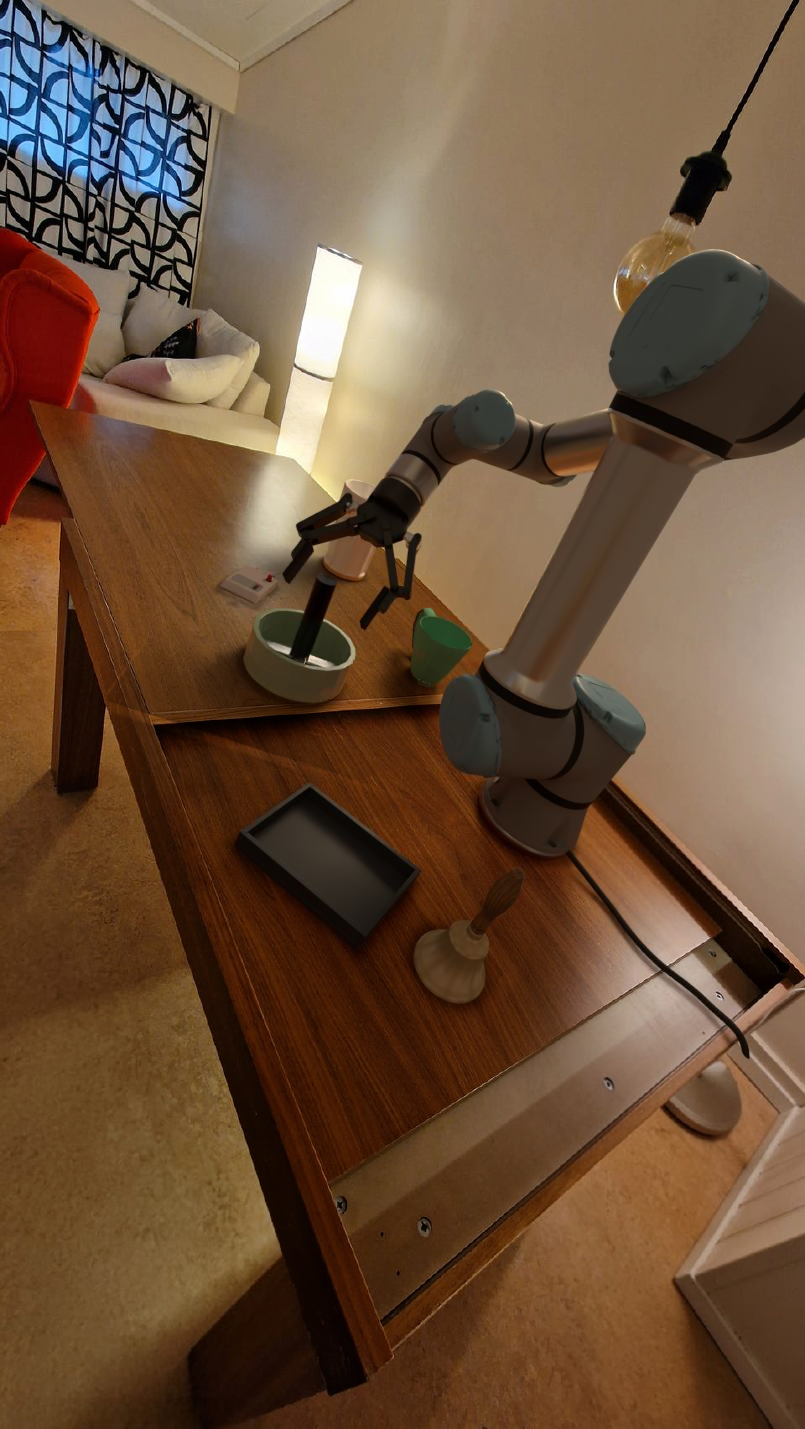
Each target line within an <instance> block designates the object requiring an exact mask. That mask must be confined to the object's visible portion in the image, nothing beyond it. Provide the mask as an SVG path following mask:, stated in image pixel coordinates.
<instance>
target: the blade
mask: <svg viewBox="0 0 805 1429" xmlns="http://www.w3.org/2000/svg"><path fill="white" fill-rule="evenodd" d="M337 585H338V581H337V579H335V578H334V577H333V576H331V575H329V574H325V573H318V574H316V577H315V580H314V581H313V585H312V588H311V591H310V594H309V597H308V600H307V602H306V605H305V608H304V610H303V611H304V614H303V616H302V619H301V622H300V625H299V628H298V631H297V634H296V637H295V639H294V642H293V645H292V648H289V647H286V646H283V645H280V644H278V643H275V642H272V641H269V640H265V641H266V642H267V644H268V645H269V646H270V647H272V648H273V649H275V650H276V651H277V652H279V653H280V654H282V655H284V656H285V657H288V658H290V659H292V660H294V661H296V662H299V663H302V664H306V665H309V666H311V665H313V666H316V667H325V668H326V667H334V666H335V664H334V663H331V662H328V661H325V660H323V659H320V658H317V657H314V656H311V652H312V650H313V647H314V644H315V642H316V639H317V636H318V633H319V631H320V628H321V625H322V623H323V620H324V619H325V618H326V615H327V612H328V609H329V606H330V604H331V601H332V599H333V596H334V593H335V591H336V587H337Z"/></svg>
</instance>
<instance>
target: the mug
mask: <svg viewBox="0 0 805 1429" xmlns="http://www.w3.org/2000/svg"><path fill="white" fill-rule="evenodd" d="M411 636H412V638H411V649H412V651H411V658H410V673H411V675H412V676H413V677H414V678H415V679H416V683H417V684H418V685H420V686H423V687H426V688H432V687H435V686H436V685H437V684H438V683H440V682H441V681H442V680H443V679H445V677H446V676H447V675H449V674H450V673H451V672H452V671H453V670H454V669H455V668H456V666H458V664H459V663H460V662H461V661H462V659H464V657H465V656H466V655H467V654H468V653H469V651H470V650H471V648H472V646H473V640H472V638H471V636H470V635H469V634H468V632H467V631H466V630H465V629H463V628H462V627H461V626H460V625H458V624H456V623H454V622H453V621H451V620H449V619H446V618H444V617H440V616H437V614H436V613H435V611H434V610H433V609H432V608H431V607H423V608H422V609H420V610H418V611H417V613H416V616H415V619H414V621H413V624H412V635H411ZM419 679H420V680H419ZM423 681H424V682H423ZM425 682H426V683H425ZM429 683H430V684H429ZM435 683H436V684H435Z"/></svg>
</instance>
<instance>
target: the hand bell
mask: <svg viewBox="0 0 805 1429" xmlns="http://www.w3.org/2000/svg"><path fill="white" fill-rule="evenodd" d="M525 878H526V874H525V871H524V870H523V869H521V868H520V867H513V868H512V869H511V870H510V871H508V872H506V873H504V874H502V875H501V876H500V877H499V878H497V879H496V880H495V881H494V882H493V883H492V885H491V887H490V889H488V891H487V894H486V896H485V899H484V902H483V906H482V908H481V909H480V911H479V912H478V914H476V915H475V916H474V918H473V919H471V920H468V919H460V920H456V921H455V922H453V923H452V924H451V925H450V926H449V927H448V928H447V929H441V928H440V929H434V930H430V931H428V932H425V933H424V934H422V935H421V936H420V937H419V939H417V941H416V943H415V946H414V948H413V965H414V968H415V972H416V974H417V976H418V978H419V980H420V981H421V983H422V984H423V985H424V987H425V988H426V989H427V990H428V991H429V992H430V993H431V994H433V995H434V996H435V997H437V998H438V999H441V1000H443V1001H445V1002H448V1003H451V1004H458V1005H461V1004H467V1003H470V1002H472V1001H474V1000H476V999H477V998H478V997H479V996H480V995H481V993H482V992H483V990H484V987H485V985H486V984H485V983H486V968H485V964H484V960H485V959H486V956H487V955H488V953H489V950H490V940H489V937H488V935H487V934H486V932H487V931H488V929H489V928H490V926H491V924H492V923H493V922H494V921H495V919H496V918H498V917H499V916H501V915H502V914H504V913H506V912H507V911H508V910H509V909H510V908H512V906H513V905H514V904H515V903H516V901H517V900H518V898H519V897H520V894H521V891H522V888H523V883H524V881H525Z"/></svg>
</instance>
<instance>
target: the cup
mask: <svg viewBox="0 0 805 1429" xmlns="http://www.w3.org/2000/svg"><path fill="white" fill-rule="evenodd" d="M376 486H377V485H375V484H373V483H371V482H367V481H365V480H360V479H355V478H354V479H353V478H352V479H351V478H350V479H346V481H344V483H343V487H342V490H341V493H340V496H339V500H340V499H341V498H342V497H343V496H344V495H345V494H346V493H351V494H352V498H353V499H354V500H355V501H357V502H358V503H359V504H362V503H364V502H366V501H367V499H368V497H369V496H370V494H371V493H372V492H373V490H374V489H375V488H376ZM354 516H357V512H355V511H354V512H351V514H348V513H347V514H346V515H344V516H343V517H341V518H340V519H338V520H336V521H334V522H335V523H339V522H343V521H346V520H347V519H348V518H350V517H354ZM335 523H334V524H335ZM354 527H357V525H355V526H354ZM376 551H377V548H376V547H374V546H373V545H372V544H371V543H370V542H367V541H364V540H363V539H361V537H360V535H357V536H353V537H351V536H347V537H343V538H340V539H336V540H333V541H329V542H328V544H327V549H326V550H325V554H324V558H323V561H322V563H323V566H324V567H325V569H326V570H327V571H329V572H330V573H331V574H333V575H335V576H337V577H339V578H340V579H343V580H348V581H352V582H358V581H362V580H363V579H364V577H365V575H366V573H367V571H368V568H369V566H370V564H371V561H372V559H373V557H374V554H375V552H376Z"/></svg>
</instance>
